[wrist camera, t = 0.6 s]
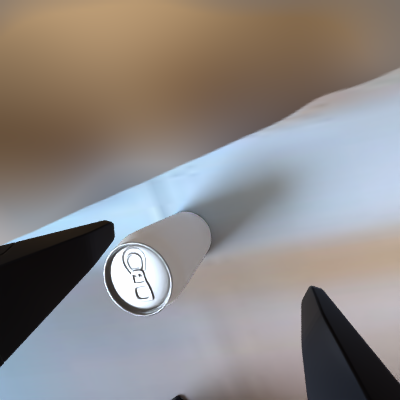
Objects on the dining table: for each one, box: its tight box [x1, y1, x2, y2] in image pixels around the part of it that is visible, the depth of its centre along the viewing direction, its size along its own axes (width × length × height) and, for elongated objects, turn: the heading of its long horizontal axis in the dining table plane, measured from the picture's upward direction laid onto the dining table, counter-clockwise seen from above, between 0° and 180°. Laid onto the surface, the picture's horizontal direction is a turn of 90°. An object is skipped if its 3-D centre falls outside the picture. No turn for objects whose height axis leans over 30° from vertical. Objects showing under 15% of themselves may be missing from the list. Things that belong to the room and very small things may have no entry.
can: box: [104, 212, 211, 316], centre depth 21 cm, size 6×6×12 cm
